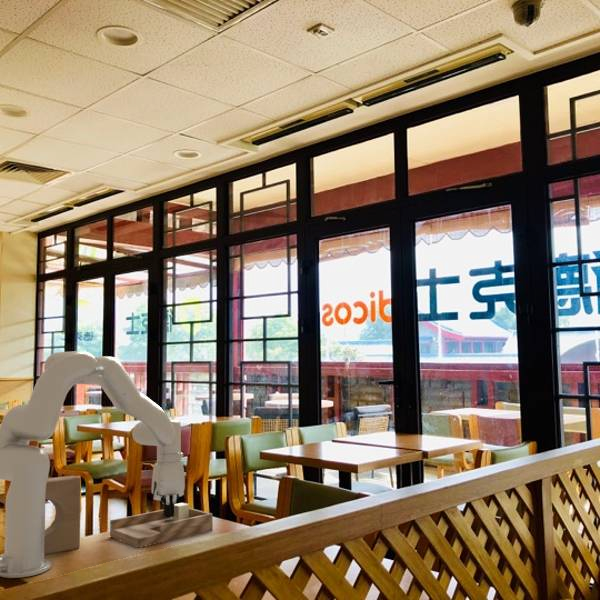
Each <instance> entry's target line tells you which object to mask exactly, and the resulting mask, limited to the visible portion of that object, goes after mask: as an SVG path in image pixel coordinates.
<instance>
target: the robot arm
mask: <svg viewBox="0 0 600 600" xmlns="http://www.w3.org/2000/svg"><path fill="white" fill-rule="evenodd" d="M43 367H44V368H43V370H44V371H43V372H42V373H41V374H40V376H39V378H38V379H37V381H36V383H35V385H34V387H33V390H32V393H31V395H30V398H29V399H28V402H27V403H26V404H18V405H15V406H13V407H12V408H10V409H9V410H8V411H7V412H6V413H5V415H4V417H3V418H2V421H1V423H0V480H3V481H9V482H10V484H9V488H8V490H7V494H6V498H5V499H6V500H5V510H4V511H5V521H4V523H5V524H4V527H5V528H4V553H1V554H0V577H2V578H7V579H15V578H16V579H19V578H27V577H31V576H32V577H33V576H36V575H40V574H42V573H45V572H46V571H48V570H49V569H50V568H51V561H50V560H48V559H46V558H45V555H44V547H45V530H46V500H45V495H46V484H47V479H48V478H49V473H50V467H51V463H50V462H51V461H50V458H49V455H48V454H47V452H46V451H45V450H44V449H42V448H41V447H39V446H36V445H35V446H34V445H31V444H30V442H32V441H33V442H44V441H47V440H49V439H51V437H52V436H53V434H54V433H55V431H56V428H57V425H58V422H59V418H60V415H61V411H62V408H63V405H64V402H65V400H66V398H67V394H68V393H69V391H70V390H71V389H72V387H73V386H75V385H76V384H79V385H94V386H95V385H97V386H98V385H99V386H100V388H101V389H102V390H103V392H104V393H105V394H106V396H107V397H108V399H109V400H110V401H111V402H112V405H113V406H114V407H115V408H116V409H117V410H118V411H120V412H121V413H123V414H126V415H128V416H130V417H132V418H134V419H137V420H138V421H139V422H138V423H137V424H135V425H134V427H133V428H132V431H131V434H132V439H133V440H134V441H135V442H136V444H139V445H141V446H142V445H143V446H153V447H156V463H154V464H153V470H152V476H151V494H152V495H153V500H155V501H160V502H161V504H163V509H164V516H165V517H168V518H170V517H174V504H177V500H178V499H179V498H180V497H183V496H184V494H185V492H184V491H185V489H186V488H185V487H186V481H185V480H186V479H185V478H186V477H185V470H184V465H183V463H184V462H183V461H181V460H182V458H183V457H184V453H183V452H182V451H181V450H182V449H181V448H182V446H181V445H182V444H181V443H182V441H181V438H182V437H181V434H182V433H181V432H182V431H181V430H182V426H181V422H180V420H179V419H174V418H173V419H172V418H169V416H168V415H167V413H166V411H164V409H162V407H160V405H158V404H157V403H156V402H154V401H153V400H152V399H150V397H148V396H147V395H145V394H144V393H142V392H141V391H140V389H139V387H137V385H136V384H135V381H133V379H132V377H131V376H130V374H129V373H128V371H127V370H126V368H125V366H123V364H122V363H121V361H120V360H119V359H118V358H116V357H114V356H108V355H105V356H103V355H102V356H94V355H93V353H90V352H88V351H82V350H75V351H72V350H71V351H57V352H54V353H52V354H50V355H49V356H48V357H47V358H46V359H45V361H44V366H43ZM29 444H30V445H29Z"/></svg>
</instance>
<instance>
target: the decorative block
mask: <svg viewBox="0 0 600 600" xmlns="http://www.w3.org/2000/svg"><path fill="white" fill-rule="evenodd" d="M81 483H82V482H81V478H80V476H76V475H73V474H72V475H65V476H57V477H48V479H47V484H46V495H45V501H49V502H51V504H52V505H53V506H54V508H55V509H54V510H55V516H54V520H53V521H52V523H51V524H50V525H49V526H48V527H46V528H45V547H44V556H46V555H52V554H56V553H63V552H67V550H68V551H71V550H72V549H73V550H76V549H79V548H80V547H81V546H80V544H81V543H80V542H81V486H82V485H81ZM73 550H72V551H73Z"/></svg>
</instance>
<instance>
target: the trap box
mask: <svg viewBox="0 0 600 600" xmlns="http://www.w3.org/2000/svg"><path fill="white" fill-rule="evenodd" d="M109 521H110V522H109V537H110V536H111V537H113V538H112V539H114V538H116V539H115V540H117V539H118V540H117V541H119V540H121V541H120V542H122V541H124V542H123V543H125V542H126V543H125V544H127V543H129V544H128V545H130V544H131V545H130V546H133V545H135V546H134V547H136V546H139V547H141V546H145V545H149V544H154V543H158V544H161V543H160V542H162V543H165V541H166V542H170V541H173V539H174V540H178V539H182V538H186V537H189V535H191V536H193V535H194V534H195V535H198V534H202V533H206V532H211V531H213V530H214V529H213V523H214V522H213V513H212V512H207V511H203V510H199V509H195V508H192V507H189V517H187V518H182V519H176V518H173V517H170V518H168V517H165V516H164V508H163V509H158V510H155V511H149V512H144V513H140V514H135V515H131V516H125V517H120V518H115V519H110V520H109ZM185 536H186V537H185ZM111 537H110V538H111ZM177 538H178V539H177ZM169 540H170V541H169ZM154 545H155V544H154ZM149 546H150V545H149ZM145 547H146V546H145ZM141 548H142V547H141Z"/></svg>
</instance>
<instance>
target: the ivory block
mask: <svg viewBox="0 0 600 600" xmlns="http://www.w3.org/2000/svg"><path fill="white" fill-rule="evenodd" d="M189 508H190V504H189V503H186V502H179V503H175V504H174V517H173V518H176V519H182V518H187V517H189Z"/></svg>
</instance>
